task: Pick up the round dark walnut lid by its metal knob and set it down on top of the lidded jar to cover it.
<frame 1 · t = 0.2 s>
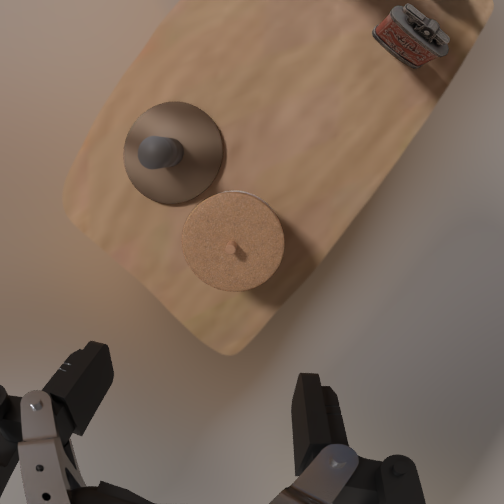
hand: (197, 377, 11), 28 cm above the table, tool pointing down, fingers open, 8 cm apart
lighter: (396, 47, 30), on the table
lidded jar: (238, 226, 39), on the table
walnut lid: (172, 152, 36), on the table
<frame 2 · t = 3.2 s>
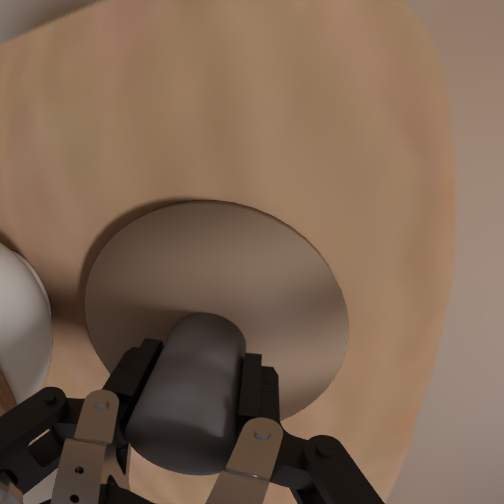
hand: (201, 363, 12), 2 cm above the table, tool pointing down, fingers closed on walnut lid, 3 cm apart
lidded jar: (19, 293, 15), on the table
walnut lid: (211, 333, 14), on the table, touching gripper
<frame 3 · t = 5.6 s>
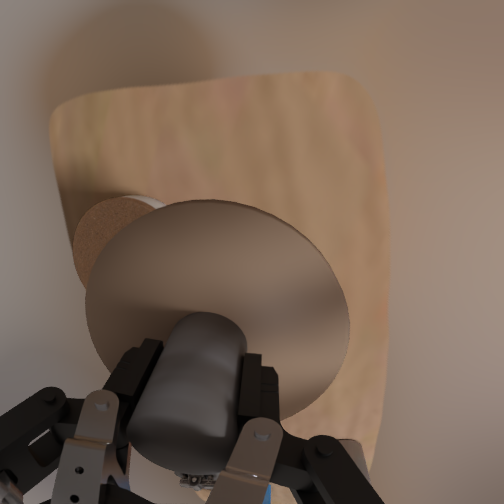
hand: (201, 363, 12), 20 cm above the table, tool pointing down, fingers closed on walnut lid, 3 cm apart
perfume bottle: (248, 484, 47), on the table
lighter: (207, 438, 41), on the table
lidded jar: (153, 236, 31), on the table
walnut lid: (212, 333, 14), point 17 cm above the table, touching gripper
when the fingers open (13 cm above the table, at t = 8.1 s): walnut lid stays where it is, resting on lidded jar.
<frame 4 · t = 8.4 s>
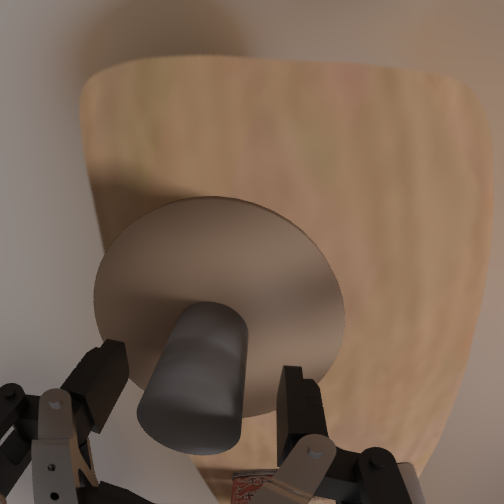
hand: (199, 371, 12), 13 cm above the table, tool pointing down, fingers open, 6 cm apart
lighter: (260, 473, 35), on the table
walnut lid: (214, 323, 15), point 9 cm above the table, touching lidded jar
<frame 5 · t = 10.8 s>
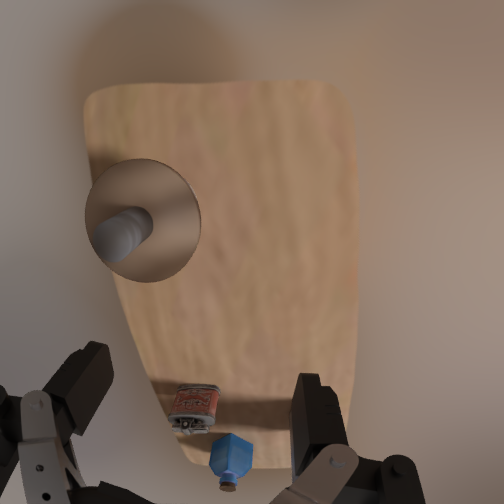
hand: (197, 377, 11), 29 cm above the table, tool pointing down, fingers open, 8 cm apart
perfume bottle: (232, 443, 56), on the table
lighter: (198, 389, 50), on the table
walnut lid: (140, 221, 30), point 9 cm above the table, touching lidded jar
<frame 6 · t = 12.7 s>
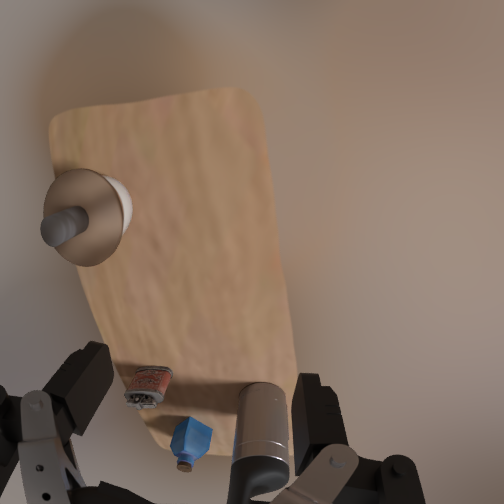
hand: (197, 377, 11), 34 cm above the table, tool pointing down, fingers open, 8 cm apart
perfume bottle: (194, 427, 60), on the table
lighter: (154, 371, 55), on the table
lidded jar: (113, 204, 44), on the table, touching walnut lid
walnut lid: (82, 217, 35), point 9 cm above the table, touching lidded jar
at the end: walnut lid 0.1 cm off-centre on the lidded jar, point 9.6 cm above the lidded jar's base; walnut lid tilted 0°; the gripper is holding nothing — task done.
